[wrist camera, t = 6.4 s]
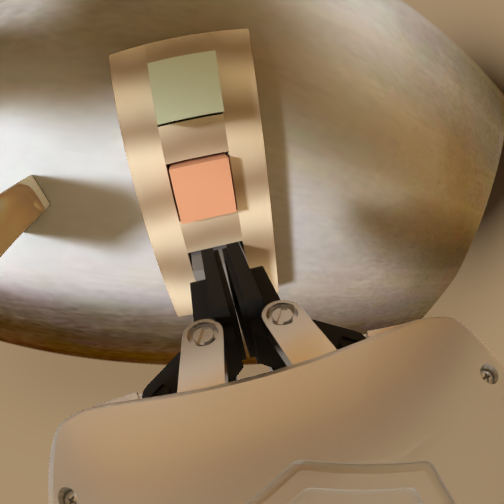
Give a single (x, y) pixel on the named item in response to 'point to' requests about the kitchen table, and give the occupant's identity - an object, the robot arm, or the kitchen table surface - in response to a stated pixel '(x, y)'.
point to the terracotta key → (203, 187)
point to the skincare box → (19, 210)
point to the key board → (192, 146)
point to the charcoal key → (198, 264)
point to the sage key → (185, 86)
